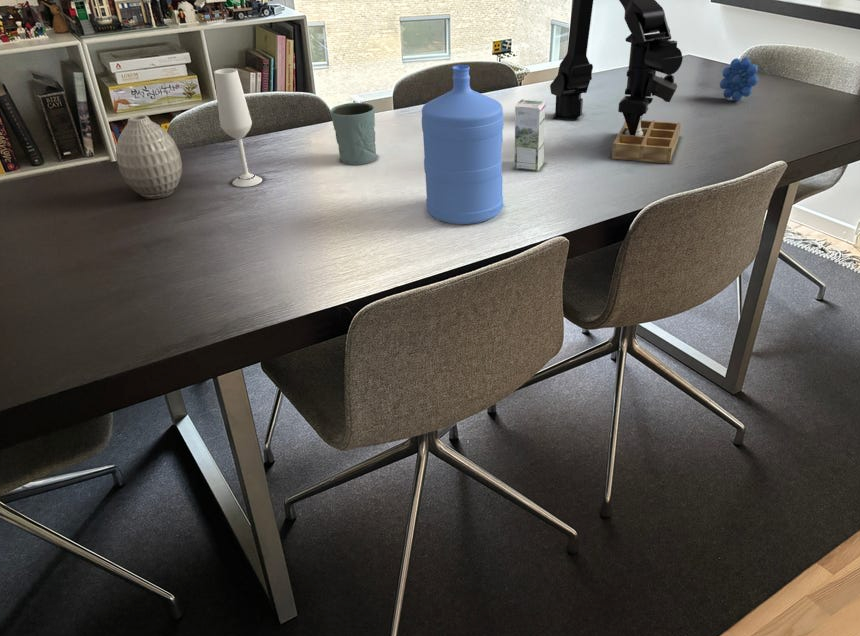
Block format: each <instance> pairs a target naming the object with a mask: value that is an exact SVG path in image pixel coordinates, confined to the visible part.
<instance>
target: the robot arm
mask: <svg viewBox="0 0 860 636" xmlns="http://www.w3.org/2000/svg"><path fill="white" fill-rule="evenodd" d="M618 2H619V3H620V4H621V5H622V7H623V10H624V22H625V24H626V25H627V28H628V31H629V32H630V34H629V35H628V36H627V37H625V42H627V43H629V44H630V48H629V52H630V53H629V61H628V68H627V69H628V70H627V71H626V77H627V81H626V88H625V89H624V97H622V99H620V101H619V103H618V110H617V111H618V113H622V116H623V117H624V120H625V121H626V124H627V127H628V130H629V133H630V135H636V131H637V128H638V124H639V121H640V118H641V116H642V118H641V120H643V116H644V115H646V114H647V112H648V111H649V105H650V104H651V103H653V100H654V98H653V97H654V96H655V97H656V98H659V99H662V100H663V101H664V102H666V103H670V102H671V100H672V98H673V97H674V94H675V92H676V91H677V88H678V84H677V83H676V82H675V75H674V74H676V73H677V72H678V71H679V69H680V68H681V66H682V65H683V59H684V57H683V55H682V54H683V53H682V50H681V49H680V48H679V47H678V41H677V40H672V35H671V29H670V27H669V25H668V21H667V18H666V13H665V10H664V8H663V6H661V4H659V2H657V0H618ZM593 6H594V0H572V5H571V14H570V15H571V16H570V25H569V33H568V42H567V50H566V55H565V56H564V57H563V58H562V60H561V62H560V63H559V67H558V71H557V75H556V77H554V79H553V81H552V82H551V84H550V85H549V88H550V89H549V91H550V94H551V95H554V96H555V110H554V111H555V112H554V115H553V119H554V120H555V119H556V120H566V121H578V119H579V118H580V117H581V116H582V114H583V105H584V104H583V103H584V98H582V94H587V92H588V89H589V86H590V83H591V81H592V80H593V77H592V73H593V69H594V65H593V63H591V62H590V60H589V59H588V55H587V53H588V46H589V38H590V29H591V24H592V23H591V22H592V15H593ZM657 72H658V73H661V74H664V75H665V76H664V77H663V76H658V75H656V74H657ZM625 121H624V122H625Z"/></svg>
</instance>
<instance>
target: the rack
mask: <svg viewBox="0 0 860 636" xmlns="http://www.w3.org/2000/svg"><path fill="white" fill-rule="evenodd" d="M681 125H682V123H681V122H672V121H659V120H647V119H641V129H642V132H643V135H642V136H635V135H626V134H625V132H626V131H627V129H628V127H627V124H626V121H624V123H623V125H622V127H621V128H620V130H619V132H618V134H617V136H616V137H615V139H614V141H613V143H612V148H611V149H612V151H611V159H615V160H625V161H637V162H648V163H657V164H658V163H659V164H671V162H672V159H673V156H674V153H675V149H676V147H677V144H678V142H679V138H680V132H681Z"/></svg>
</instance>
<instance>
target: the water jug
mask: <svg viewBox="0 0 860 636" xmlns="http://www.w3.org/2000/svg"><path fill="white" fill-rule="evenodd" d="M451 68H452V72H453V75H452V84H453V87H452V89H451V90H449V91H447V92H446V93H444V94H441V95H440V96H437V97H435V98H433V99H431V100H429V101H428V102H426V103H425V104H424V105H423V106H422V109H421V130H422V138H423V139H422V140H423V155H424V156H423V157H424V158H423V168H424V169H423V170H424V174H425V191H426V193H425V194H426V199H425V202H426V211H427V212H428V214H429V215H430V216H431V217H433V218H434V219H436V220H438V221H439V222H442V223H443V222H444V223H448V224H452V225H453V224H454V225H471V224H479V223H484V222H487V221H489V220H491V219H494V218H496V217H498V215H500V214H501V212H502V210H503V207H504V196H503V174H502V172H503V171H502V170H503V169H502V168H503V167H502V150H503V149H502V147H503V137H504V135H503V134H504V133H503V131H504V112H503V111H504V110H503V105H502V104H501V102H499V101H498V100H496V99H494V98H492V97H490V96H488V95H485V94H483V93H480V92H478V91H475V90H473V89H472V88H471V85H470V82H471V81H470V80H471V75H470V69H471V67H470V65H467V64H456V65H453V66H452V67H451Z"/></svg>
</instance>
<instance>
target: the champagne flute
mask: <svg viewBox="0 0 860 636" xmlns="http://www.w3.org/2000/svg"><path fill="white" fill-rule="evenodd" d="M238 71H239V70H238V69H237V68H233V67H231V68H230V67H227V68H219V69H216V70H214V71H213V75H214V83H215V92H216V101H217V109H218V119H219V126H220V129H222V131H223V132H224V133H225V134H227V135H228V136H229V137H231V138H232V139H235V140H236V144H237V150H238V156H239V160H240V165H241V169H242V174H240V175H239V176H238V177H240V178H243V179H247V178H251V177H253V176H254V175H255V174H253V173H250V172H249V169H248V164H247V158H246V153H245V147H244V142H243V139H244V138H245V137H246V136H247V134H248V133H249V131H250V130H251V128H252V125H253V121H252V117H251V114H250V111H249V107H248V102H247V100H246V95H245V92H244V89H243V85H242V81H241V78H240V75H239V72H238ZM238 177H236V178H235V179H234V180H233V181H232V183H231V184H232V185H233V186H235V187H240V188H246V187H252V186H256V185H259V184H261V183H262V182H263V178H262V177H260V176H258V175H255V177H254V178H253V179H250V180H239V179H238Z"/></svg>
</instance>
